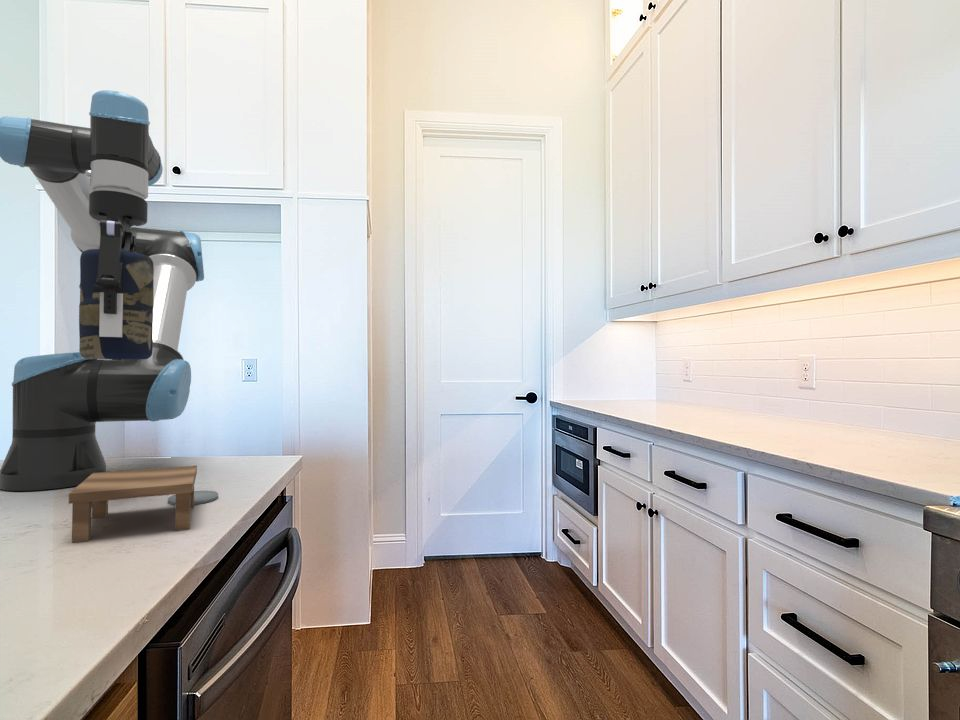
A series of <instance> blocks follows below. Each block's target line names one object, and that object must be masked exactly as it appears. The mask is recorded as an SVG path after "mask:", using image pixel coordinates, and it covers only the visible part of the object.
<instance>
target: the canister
mask: <svg viewBox="0 0 960 720" xmlns="http://www.w3.org/2000/svg"><path fill="white" fill-rule="evenodd" d="M98 262H99V249H89V250H86V251H84V252H81V254H80V259H79V266H80V267H79V268H80V269H79V270H80V271H79V272H80V273H79V274H80V275H79V280H80V281H79V285H78V287H79V305H78V329H79V330H78V332H79V333H78V335H79V350H78V352H80V355H81V356H82V357H84V358H87V359H112V360H117V361H123V360H124V359H148V358H150V357H151V355H152V351H153V307H154V304H153V293H154V289H153V277H154V267H153V261H152V259H151V258H150V257H148V256H146V255H144V254H140V253H137V252H135V251H133V250H130V251H125V250H121V261H120V263H121V262H123V266H122V286H121V287H122V290H121V292H117V293H122V294H123V326H122V337H99V320H100V292H104V291H94V289H93V284H96V285H98V284H97V282H96V280H97V275H98Z"/></svg>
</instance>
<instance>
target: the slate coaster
mask: <svg viewBox="0 0 960 720" xmlns="http://www.w3.org/2000/svg"><path fill="white" fill-rule="evenodd" d="M218 499H219V492H217V491H215V490H214V491H213V490H194V506H196V505H203V504H206V503H212V502H214V501H216V500H218ZM167 503H168V504H169V505H171V506H176V494H173V495H171V496H170V495H169V496H168V498H167Z"/></svg>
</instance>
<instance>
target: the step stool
mask: <svg viewBox="0 0 960 720" xmlns="http://www.w3.org/2000/svg"><path fill="white" fill-rule="evenodd" d="M197 469H198V466H197V465H190V466H189V465H188V466H187V465H186V466H184V465H183V466H174V467H173V466H172V467H157V468H141V469H130V470H129V469H128V470H115V471H106V472H98V473H92V474H91V475H90V476H89V477H88V478H86V479H85V480H84V481H83V482H82V483H81V484H80V485H76V486H75V488H74V489H72V491H71V492H69V493H68V504H69V505H70V504H72V506H71V507H72V508H71V509H72V510H71V513H72V514H71V515H72V516H71V519H72V521H71V523H72V524H71V543H72V544H73V543H81V542H89V540H90V539H91V538H92V519H99V518H106V517H107V516H108V515H109V501H117V500H126V499H127V500H128V499H136V498H149V497H158V496H159V497H160V496H168V495H169V496H170V495H171V496H172V495H175V494H176V505H175V520H174V521H175V522H174V523H175V526H174V527H175V531H184V530H185V531H186V530H190V528H191V509H194V506H195V505H194V491H195V483H196V479H197V475H198V473H197V472H198V470H197Z"/></svg>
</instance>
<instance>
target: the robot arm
mask: <svg viewBox="0 0 960 720" xmlns="http://www.w3.org/2000/svg"><path fill="white" fill-rule="evenodd" d="M88 115H89V116H90V119H89V120H90V121H89V123H90V125H89V127H84V126H78V125H77V126H76V125H70V124H65V123H59V122H52V121H46V120H40V119H34V118H33V119H32V118H31V117H18V116H17V117H15V116H8V115H7V116H1V117H0V159H1V160H2V161H3V162H4V163H6V164H9V165H13V166H19V167H20V168H29V170H30V171H31V172H32V174H33V175H34V177H35V178H36V180H37V181H38V182H39V184H40V186H41V187H42V189H43V190H44V191H45V193H46V194H47V196H48V197H49V199H50V200H51V202H52V203H53V204H54V206H55V208H56V209H57V211H58V212H59V214H60V215H61V216H62V218H63V220H64V221H65V222H66V223H67V225H68V227H69V228H70V237H71V240H72V242H73V244H74V245H75V247H76V248H77V249H78V251H80V252H81V253H82V252H84V251H86V250H89V249H99V262H98V275H97V280H96V282H97V284H98V285H96V284H93V289H94V291H104V292H100V320H99V337H122V326H123V294H122V293H117V292H121V290H122V287H121V286H122V266H123V262H121V263H120V261H121V250H125V251H130V250H133V251H135V252H137V253H140V254H144V255H146V256H148V257H150V258H151V259H152V261H153V267H154V277H153V289H154V293H153V304H154V307H153V351H152V355H151V357H150V358H148V359H124V360H123V361H117V360H112V359H87V358H84V357H82V356H81V355H80V352H79V351H77V352H64V353H52V354H50V353H49V354H43V355H32V356H26V357H24V358H21V359H19V360H18V361H17V362H16V363H15V364H14V368H13V369H14V370H13V380H12V382H11V386H12V437H11V438H12V441H11V444H10V446H9V449H8V451H7V453H6V456H5V458H4V460H3V463H2V465H1V467H0V490H3V491H12V492H14V491H15V492H23V491H24V492H28V491H29V492H30V491H45V490H53V489H54V490H55V489H63V488H68V487H77V486H78V485H80V484H81V483H82V482H83V481H84V480H85V479H86V478H88V477H89V476H90V475H91V474H92V473H98V472H107V463H106V460H105V458H104V455H103V452H102V450H101V448H100V445H99V442H98V440H97V436H96V424H97V423H100V422H101V423H102V422H103V423H104V422H138V421H141V422H143V421H150V422H158V421H164V420H173V419H176V418H178V417H180V416H181V415H182V413H184V411H185V410H186V409H185V408H186V406H187V403H188V401H189V398H190V397H189V396H190V392H191V391H190V387H191V384H192V370H191V369H192V368H191V365H190V363H189V362H188V361H187V360H184V356H183V355H182V354H181V352H180V351H179V343H180V336H181V332H182V325H183V324H182V323H183V319H184V318H183V317H184V311H185V305H186V299H187V293H188V291H189V290H192V289H193V287H194V286H195V284H196V282H201V281H204V279H205V273H204V270H205V269H204V259H203V249H202V240H201V237H200V235H198V234H197V233H195V232H186V231H183V230H180V231H176V230H168V229H167V230H165V229H156V228H146V227H141V226H144V225H146V224H147V223H148V204H149V203H148V202H147V201H146V199H148V197H149V186H152V185H153V186H154V185H155V184H156V183H157V182H158V181H160V178H161V176H162V175H163V163H162V157H161V155H160V152H159V151H158V150H157V148H156V147H155V146H154V144H153V141H152V138H151V135H150V132H149V130H150V129H149V128H150V124H151V121H150V120H149V108H148V107H147V105H146V103H145V102H143V101H142V100H141V99H139V98H137V97H135V96H133V95H131V94H128V93H125V92H121V91H118V90H117V91H116V90H111V89H109V90H108V89H104V90H103V89H102V90H98V91H96V92H94V93H93V94H92V95H91V102H90V110H89V112H88Z"/></svg>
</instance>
